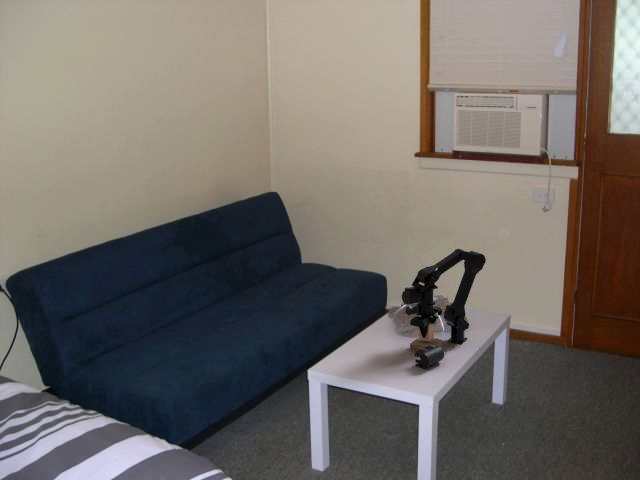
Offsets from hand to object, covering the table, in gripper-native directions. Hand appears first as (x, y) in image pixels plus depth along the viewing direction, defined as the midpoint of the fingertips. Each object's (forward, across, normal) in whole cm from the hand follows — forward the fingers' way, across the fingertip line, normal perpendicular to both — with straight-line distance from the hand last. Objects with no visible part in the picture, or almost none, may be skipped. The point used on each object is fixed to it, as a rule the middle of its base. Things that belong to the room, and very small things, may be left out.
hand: (426, 335), depth 315 cm
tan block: (+6, 0, 0) cm, 6 cm away
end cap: (+6, +14, +8) cm, 17 cm away
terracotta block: (+1, 0, 0) cm, 1 cm away
